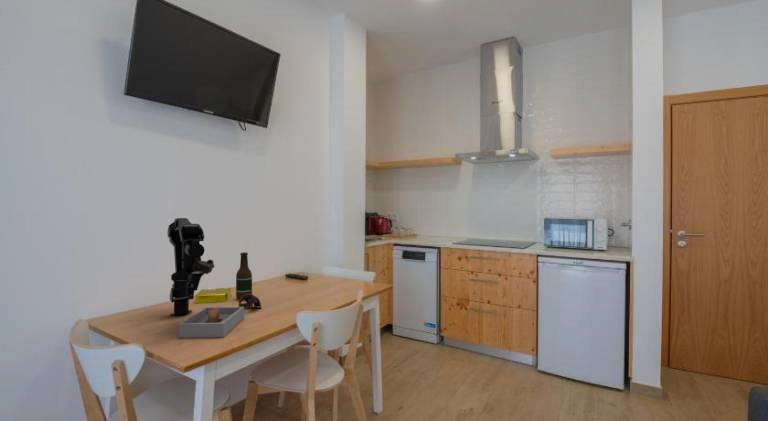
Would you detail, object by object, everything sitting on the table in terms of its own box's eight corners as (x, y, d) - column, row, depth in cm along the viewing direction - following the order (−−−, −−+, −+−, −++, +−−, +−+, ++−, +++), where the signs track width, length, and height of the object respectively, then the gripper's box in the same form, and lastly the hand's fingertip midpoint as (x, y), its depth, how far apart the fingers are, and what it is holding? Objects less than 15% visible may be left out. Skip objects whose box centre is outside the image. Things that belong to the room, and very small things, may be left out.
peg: (210, 325, 142) (210, 308, 142) (221, 325, 142) (221, 308, 142) (206, 329, 138) (206, 311, 138) (217, 329, 138) (216, 311, 138)
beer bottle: (255, 298, 185) (255, 252, 185) (242, 301, 179) (242, 254, 178) (245, 296, 189) (245, 251, 189) (232, 299, 183) (232, 252, 183)
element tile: (194, 304, 175) (194, 294, 175) (201, 297, 189) (201, 288, 189) (227, 302, 179) (227, 293, 178) (231, 295, 193) (231, 286, 193)
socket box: (205, 318, 151) (205, 307, 151) (244, 318, 152) (244, 306, 152) (178, 337, 129) (178, 324, 129) (223, 337, 130) (223, 323, 130)
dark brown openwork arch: (265, 311, 164) (257, 297, 161) (245, 322, 161) (237, 309, 157) (259, 298, 174) (252, 286, 171) (240, 309, 171) (232, 296, 167)
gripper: (200, 258, 135) (200, 299, 135) (219, 251, 154) (219, 287, 154) (170, 258, 134) (170, 299, 135) (193, 251, 153) (193, 287, 153)
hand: (190, 293), depth 144 cm, fingers open, 9 cm apart
